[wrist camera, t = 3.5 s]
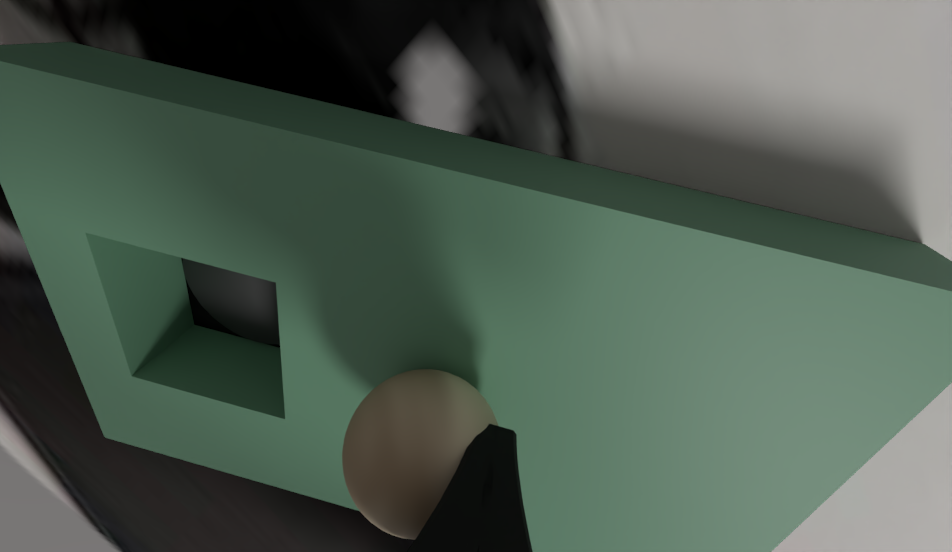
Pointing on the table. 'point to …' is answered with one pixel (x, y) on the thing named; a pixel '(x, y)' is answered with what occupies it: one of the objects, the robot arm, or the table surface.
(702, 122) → the table surface
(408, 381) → the maple ball
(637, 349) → the putting board
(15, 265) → the table surface
